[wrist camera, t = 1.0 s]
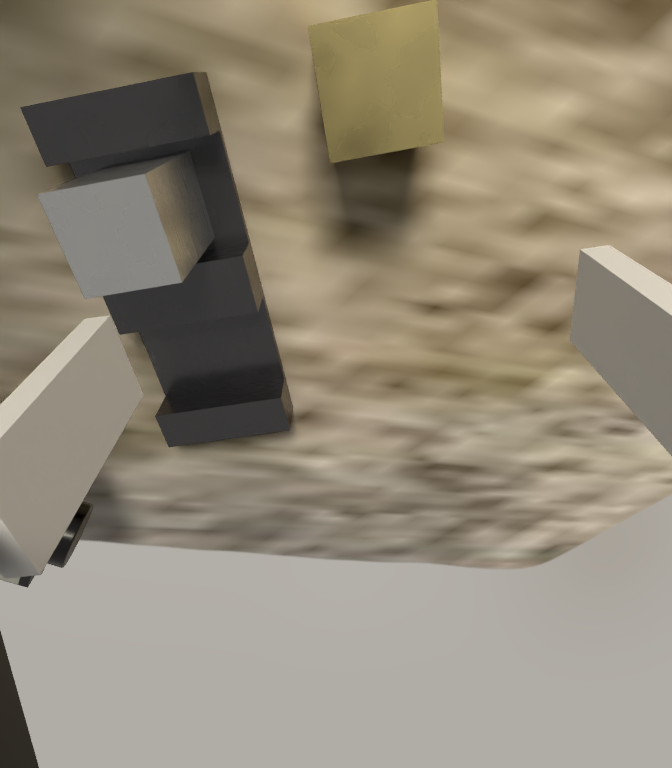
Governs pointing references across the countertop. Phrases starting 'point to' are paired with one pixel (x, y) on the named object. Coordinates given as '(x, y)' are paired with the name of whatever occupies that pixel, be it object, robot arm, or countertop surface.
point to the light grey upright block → (131, 224)
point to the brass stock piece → (379, 81)
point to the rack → (206, 279)
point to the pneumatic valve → (62, 543)
